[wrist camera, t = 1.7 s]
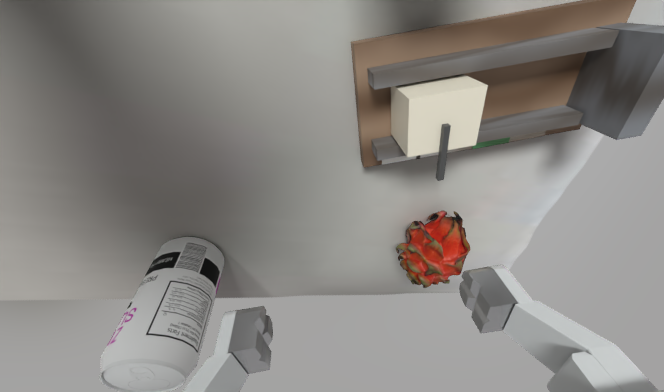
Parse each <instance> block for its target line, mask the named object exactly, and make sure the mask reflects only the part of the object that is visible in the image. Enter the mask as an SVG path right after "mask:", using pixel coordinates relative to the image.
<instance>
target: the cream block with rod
mask: <svg viewBox="0 0 664 392" xmlns="http://www.w3.org/2000/svg"><path fill="white" fill-rule="evenodd" d="M487 87H488V85H486V84H484V83H482V82H480V81H477V80H475V79H473V78H471V77H469V76H467V75H464V74H459V75H454V76H448V77H443V78H437V79H431V80H426V81H420V82H415V83H409V84H403V85H398V86H392V87H391V134H392V136H393V137H394V139H395V140H396V142H397V143H398V145H399V146H400V147H401V149H402V150H403V152H404V153H405V155H406V156H407V157H413V156H418V155H424V154H430V153H435V152H439V154H438V163H437V172H436V179H437V180H438V181H439V180H444V173H445V165H446V158H447V150H452V149H457V148H463V147H469V146H474V145H476V142H477V137H478V132H479V127H480V122H481V117H482V112H483V107H484V102H485V97H486V92H487Z"/></svg>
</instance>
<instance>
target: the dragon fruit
mask: <svg viewBox="0 0 664 392" xmlns="http://www.w3.org/2000/svg"><path fill="white" fill-rule="evenodd" d="M454 214H455V215H456V217H455V216H454V217H452V216H451V217H445V215H448V214H447V212H445V211H440V212H438V213H435V214H432V215H431V216H429V217H428V219H429V218H430V217H431V219H433V218H434V217H436V216H437V215H438V218H437V219H435V220H432V221H431V222H429V223H428V224H426V225H424V224H423V223H422V222H421V221H420V222H418V221H414V222H412V224H411V226H410V227H409V229H407V231H406V232H407V233H406V236H407V237H408V241H407V244H406V243H401V244H399V245H398V246H397V247H396V251H397V253H399V251H398V249H401V250H404V251H405V252H403V253H401V254H400V255H399V256H398V259H399V261H400V259H404V260H402V261H401V262H400V265H401V266H402V267H403V269H405V270H406V271H407V277H408V278H409V279H410V280H411V282H412V284H414V283H415V284H418V285H421V284H422V285H423V288H427V287H429V286H430V285H431V284H438V283H439V282H443V283H449V280H448V277H449V276H451V275H459V274H460V273H461V271H462V267H463V264H464V261H465V258H466V256H467V254H468V252H469V251H470V245H469V243H468V242H467V240H466V233H465V229H464V228H463V227H462V218H461V217H460V216H459V214H458V213H456V212H455V211H454ZM428 219H427V220H428ZM431 219H430V220H431ZM427 220H426V221H427Z"/></svg>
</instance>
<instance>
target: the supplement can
mask: <svg viewBox="0 0 664 392" xmlns="http://www.w3.org/2000/svg"><path fill="white" fill-rule="evenodd" d="M224 260H225V259H224V257H223V254H222V252H221V251H220V250H219V249H218V248H217V247H216V246H215V245H213V244H212V243H210V242H208V241H206V240H204V239H201V238H196V237H182V238H176V239H172V240H169V241H168V242H166V243H165V244H163V245H162V246H161V248H160V250H159V252H158V254H157V255H156V257H155V259H154V261H153V263H152V264H151V266H150V268H149V270H148V272H147V274H146V275H145V277H144V279H143V281H142V283H141V285H140V286H139V288H138V290H137V292H136V294H135V296H134V297H133V299H132V301H131V303H130V305H129V307H128V308H127V310H126V312H125V314H124V316H123V318H122V319H121V321H120V323H119V325H118V327H117V329H116V330H115V332H114V334H113V336H112V338H111V340H110V342H109V343H108V345H107V347H106V349H105V351H104V353H103V354H102V356H101V374H100V376H99V378H100V380H101V383H103V384H104V385H106V386H107V387H109V388H111V389H114V390H117V391H120V392H170V391H173V390H176V389H178V388H180V387H181V386H182V385H183V384H184V383H185V381H186V378H187V377H188V376H189V374H190V373H191V372H192V371H193V370H194V368H195V367H196V366H197V362H198V358H199V355H200V351H201V348H202V344H203V340H204V337H205V333H206V329H207V326H208V322H209V318H210V315H211V311H212V307H213V304H214V300H215V297H216V293H217V289H218V286H219V282H220V278H221V275H222V271H223V267H224Z"/></svg>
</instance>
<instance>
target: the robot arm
mask: <svg viewBox="0 0 664 392" xmlns="http://www.w3.org/2000/svg"><path fill="white" fill-rule="evenodd" d="M462 278H463V279H464V281H462V282H461V283H460V288H459V289H460V295H461V298H462V300H463V302H464V304H465V306H466V307H467V308H469V309H470V310H472V319H473V321H474V322H475V324H476V326H477V328H478V329H479V331H480V333H487V332H494V331H501V330H503V332H504V333H505V334H506V335H508V336H509V337H510V338H511V339H513V340H514V341H515V342H516V343H518V344H519V345H520V346H521V347H523V348H524V349H525V350H526V351H528V352H529V353H530V354H531V355H533V356H534V357H535V358H536V359H538V360H539V361H540V362H541V363H543V364H544V365H545V366H546V367H548V368H549V369H550V370H551V371H553V372H554V373H555V375H554V376H553V377H552V378H551V380H550V381H549V382H548V384H547V388H548V390H549V391H550V392H664V390H661V391H658V389H657V388H656V387H655V386H654V385H653V384H652V383H651V382H650V381H649V380H648V379H647V378H646V377H645V375H644V374H643V373H642V372H641V371H640V370H639V369H638V368H637V367H636V366H635V365H634V364H633V363H632V362H631V360H629V358H628V357H627V356H626V355H625V354H624V353H623V352H622V351H621V350H620V349H619V348H618V347H617V346H616V345H615V344H613V343H611V342H610V341H608V340H606V339H604V338H603V337H601V336H599V335H597V334H596V333H594V332H592V331H590V330H589V329H587V328H585V327H583V326H581V325H580V324H578V323H576V322H574V321H573V320H571V319H569V318H567V317H566V316H564V315H562V314H560V313H559V312H557V311H555V310H553V309H552V308H550V307H548V306H546V305H544V304H543V303H541V302H539V301H538V300H536V301H533V300H532V299H531V297H530V296H529V295H528V294H527V293H526V291H525V290H524V289H523V287H522V286H521V285H520V284H519V282H518V281H517V280H516V279H515V277H514V276H513V275H512V274H511V272H510V271H509V270H508V269H507V267H505V266H504V265H496V266H490V267H483V268H478V269H473V270H468V271H464V272H463V274H462ZM272 335H273V329H272V322H271V319H270V317H269V316H267V315H266V309H265V307H264V306H260V307H254V308H249V309H242V310H235V311H230V312H225V314H224V316H223V318H222V322H221V326H220V330H219V334H218V338H217V342H216V346H215V350H214V354H213V356H210V357H209V358H208V359H207V360H206V361H205V363H204V364H203V365H202V367H201V368H200V369H199V370H198V372H197V373H196V374H195V375H194V377H193V378H192V379H191V381H190V382H189V383H188V384H187V386H186V387H185V388H184V390H183V391H182V392H240V390H241V388H242V386H243V385H244V383H245V381H246V379H247V377H248V374H250V373H256V372H261V371H266V370H269V369H270V361H271V350H270V348H269V347H268V345H269V344H270V342H271V341H272Z"/></svg>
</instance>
